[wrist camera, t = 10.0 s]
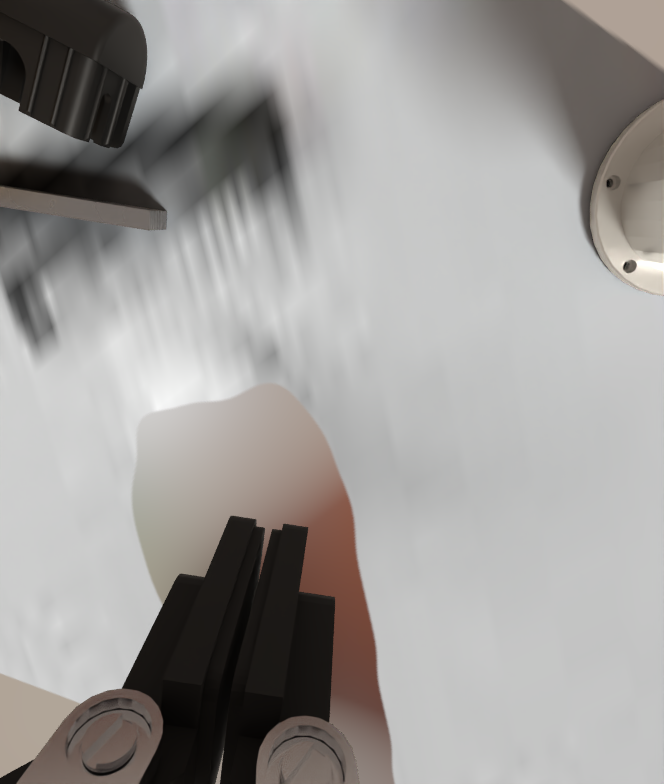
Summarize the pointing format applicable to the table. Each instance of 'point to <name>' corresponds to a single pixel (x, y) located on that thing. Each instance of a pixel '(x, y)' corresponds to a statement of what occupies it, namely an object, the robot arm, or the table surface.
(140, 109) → the table surface
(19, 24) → the end cap
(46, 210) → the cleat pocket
